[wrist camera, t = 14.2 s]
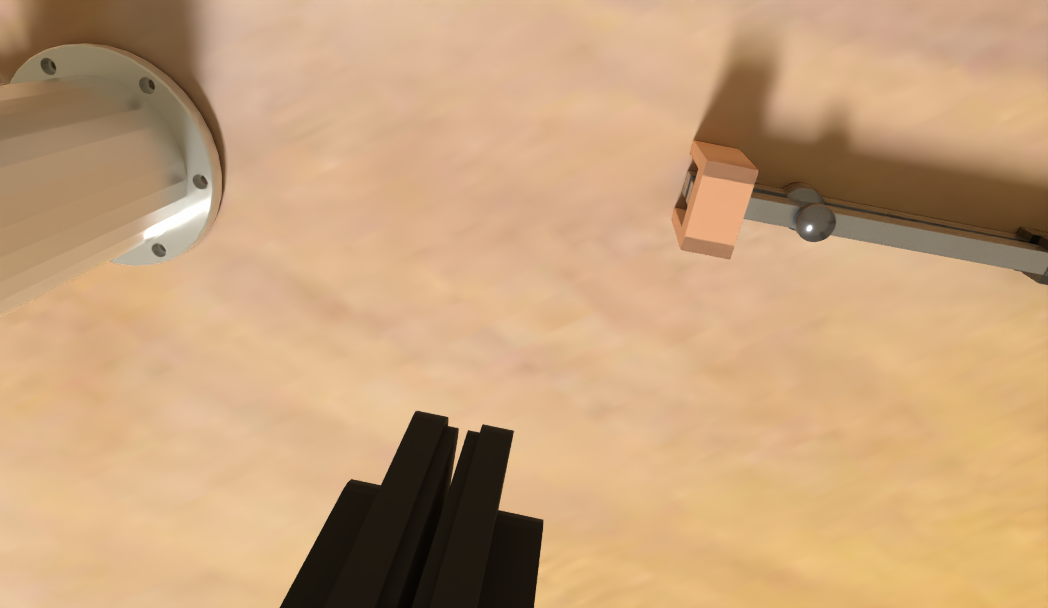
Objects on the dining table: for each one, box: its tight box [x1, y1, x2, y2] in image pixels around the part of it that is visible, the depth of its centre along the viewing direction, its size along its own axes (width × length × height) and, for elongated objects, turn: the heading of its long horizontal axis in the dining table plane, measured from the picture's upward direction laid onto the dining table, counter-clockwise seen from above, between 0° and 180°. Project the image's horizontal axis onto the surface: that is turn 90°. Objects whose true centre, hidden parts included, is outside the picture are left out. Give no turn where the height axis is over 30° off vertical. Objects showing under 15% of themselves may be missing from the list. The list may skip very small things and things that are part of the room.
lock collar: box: [672, 140, 759, 259], centre depth 33 cm, size 2×4×5 cm, turn 170°
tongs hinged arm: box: [686, 180, 1048, 285], centre depth 33 cm, size 22×2×2 cm, turn 81°
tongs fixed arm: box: [682, 170, 1048, 272], centre depth 35 cm, size 22×2×2 cm, turn 80°
